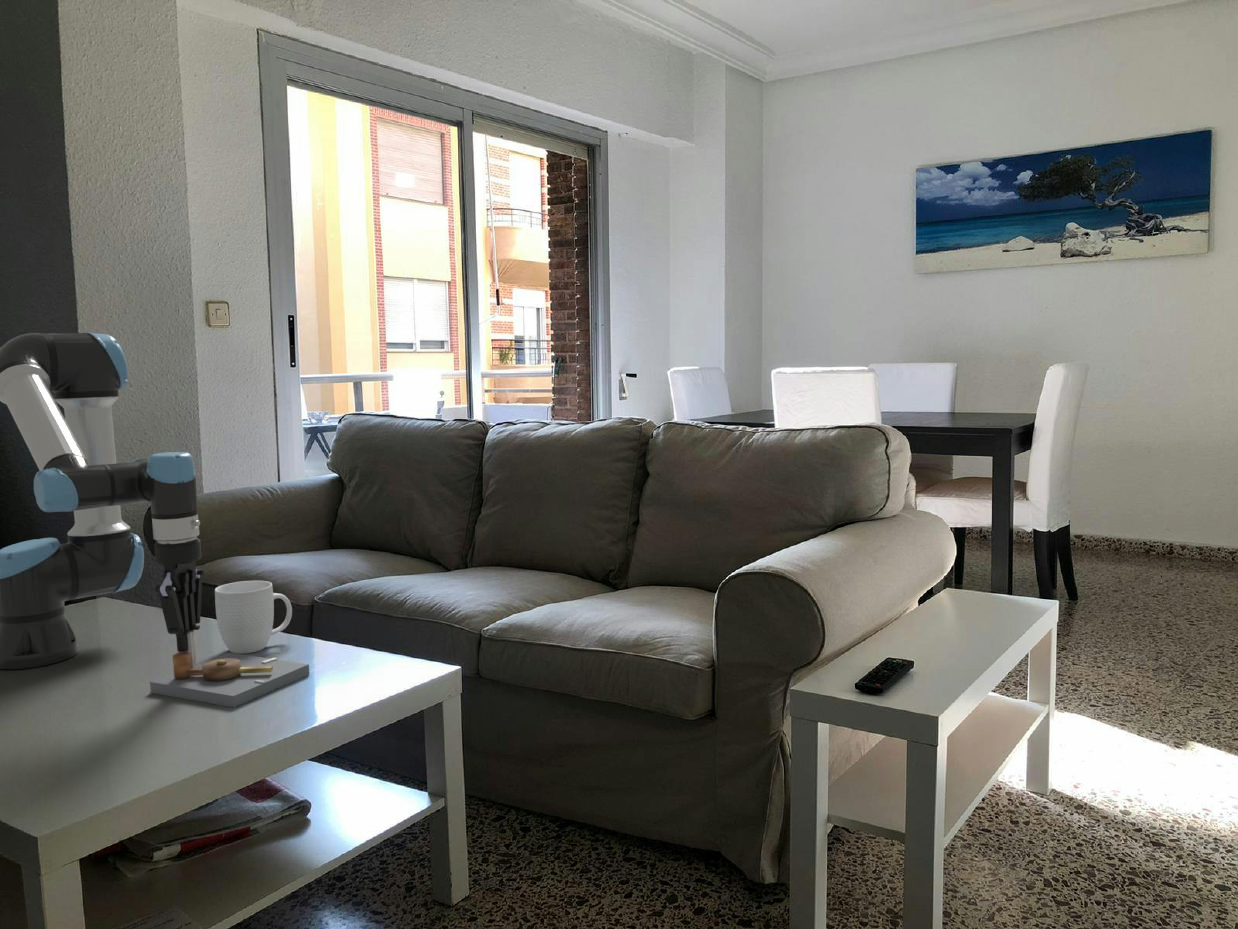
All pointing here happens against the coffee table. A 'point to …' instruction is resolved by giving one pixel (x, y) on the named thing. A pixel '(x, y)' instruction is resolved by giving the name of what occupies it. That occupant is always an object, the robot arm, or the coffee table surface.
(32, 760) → the coffee table surface
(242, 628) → the mug
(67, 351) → the robot arm
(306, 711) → the coffee table surface
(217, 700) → the board
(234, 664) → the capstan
